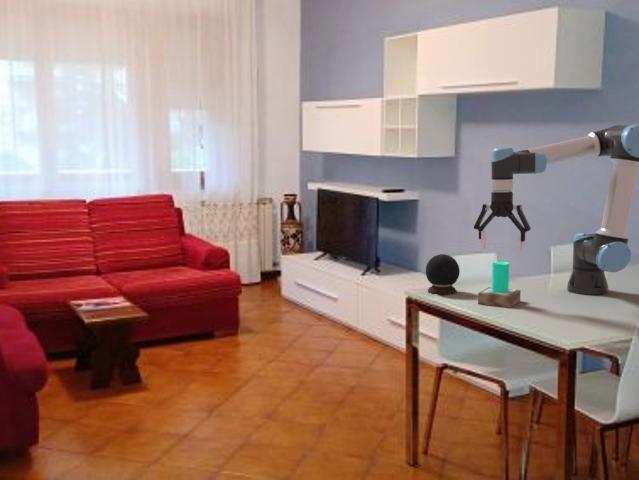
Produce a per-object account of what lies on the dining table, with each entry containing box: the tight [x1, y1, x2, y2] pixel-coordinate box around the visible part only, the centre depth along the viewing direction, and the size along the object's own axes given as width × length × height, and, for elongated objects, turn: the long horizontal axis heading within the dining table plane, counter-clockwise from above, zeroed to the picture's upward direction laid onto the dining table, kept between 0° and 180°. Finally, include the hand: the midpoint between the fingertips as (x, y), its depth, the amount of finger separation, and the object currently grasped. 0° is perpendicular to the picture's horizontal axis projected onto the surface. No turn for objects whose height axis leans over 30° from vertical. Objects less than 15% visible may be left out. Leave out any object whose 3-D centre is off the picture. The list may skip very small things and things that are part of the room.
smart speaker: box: [425, 253, 460, 296], centre depth 281 cm, size 13×13×15 cm
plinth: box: [477, 286, 521, 309], centre depth 263 cm, size 12×12×4 cm
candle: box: [491, 258, 510, 293], centre depth 262 cm, size 6×6×12 cm
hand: (501, 249), depth 261 cm, fingers open, 13 cm apart
